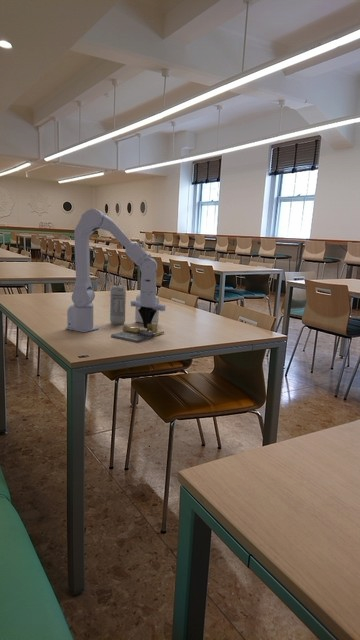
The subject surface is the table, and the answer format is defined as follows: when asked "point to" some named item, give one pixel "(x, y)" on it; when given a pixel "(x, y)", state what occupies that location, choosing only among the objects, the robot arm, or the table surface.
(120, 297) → the energy drink can
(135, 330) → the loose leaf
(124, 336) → the pin leaf
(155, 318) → the photo printer
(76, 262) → the robot arm
